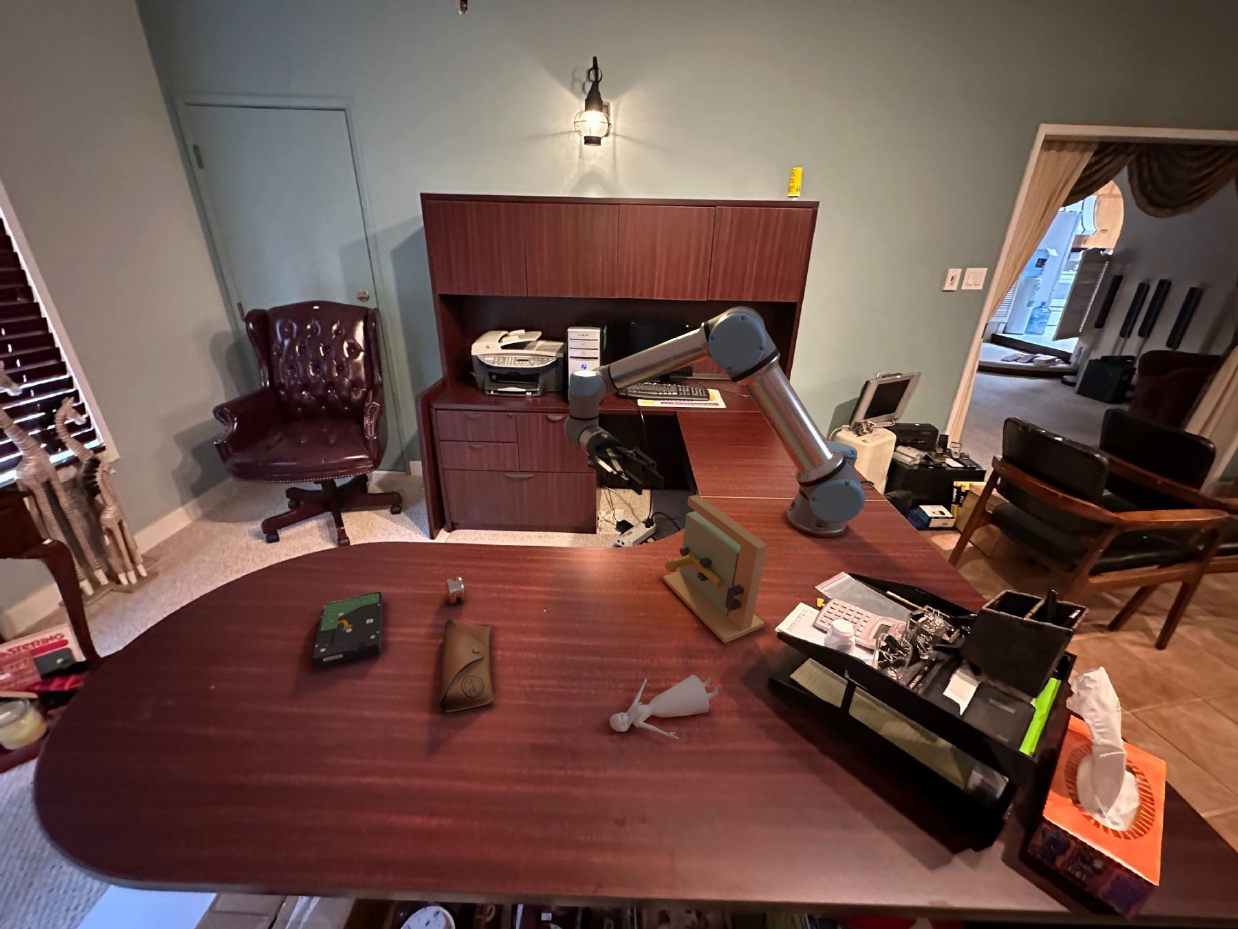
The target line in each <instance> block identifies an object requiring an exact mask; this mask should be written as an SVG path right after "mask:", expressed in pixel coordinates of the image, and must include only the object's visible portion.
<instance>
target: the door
mask: <svg viewBox="0 0 1238 929" xmlns="http://www.w3.org/2000/svg"><path fill="white" fill-rule="evenodd" d="M687 506H688V507H689V508H690V509H692V510H693V511H691V512H688V513H687V512H686V513H685V514H686V515H685V522H684V530H683V539H682V540H683V541H682V546H681V547H680V548H679V554H680V555H681V557H680V558H682V557H685V556H687V555H688V554H689V553H692V554H693V555H694V556H695V557H696V558H698V559H699V560H700V562H699V564H701V565H702V566H703V567H704V568H705V567H708V568H709V569H710V570H711V571H712V572H713V573H715V574H716V575H717V576H718V577H719V578H720V579H721V580H723V584H722V585H721V586H720V587H717V586H716V585H715V584H714V583H713V582H711V581H710V580H709V579H708V578H707V577H706V576H705V575H704V574H703V573H702V572H700V571H699V570H698V569H697V568H696V567H695V566H694V565H693V564H692V563H691V564H689V565H686V566H683V567H680V568H679V570H678V571H676V572H675V571H674V572H671V573H669V574H665V575H663V576H662V581H663V582H664V583H665V584H666V585H667V586H668V588H670V589H671V590H672V591H673V592H674V593H675V594H676V596H678V597H679V599H681V601H682V602H684V604H685V605H686V606H687V607H688V608H689V609H690V610H691V611H692V612H693V613H694V614H695V615H696V616H697V617H698V618H699V619H700V620H701V621H702V622H703V623H704V624H705V625H706V626H707V627H708V628H709V629H710V630H711V631H712V633H713V634H715V636H716V637H717V638H718V639H719V640H720V641H721V642H722V643H723V644H726V643H729V642H731V641H734V640H736V639H739V638H741V637H743V636H746V635H747V634H750V633H752V632H755V631H758V630H760V629H762V628H764V627H765V622H764V621H763V620H762V619H761V618H759V616H758V615H756V614H755V610H756V604H757V600H758V595H759V590H760V586H761V581H762V580H761V579H762V575H763V570H764V564H765V559H766V556H767V549H768V544H767V543H766V542H764V540H761V539H760V538H759V537H758V536H757V535H755V534H753V533H752V532H751V531H749V530H748V529H746V528H745V527H744V526H742V525H741V524H739V523H738V522H736V521H735V520H734V519H732V518H731V517H730V516H728V515H727V514H726V513H724V512H722V511H721V510H720V509H718V508H717V507H716V506H714V505H713V504H712V503H710V502H708V501H707V500H706V499H704V498H703V497H701V496H700V495H698V494H694V495H689V496H688V497H687Z"/></svg>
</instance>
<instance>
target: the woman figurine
mask: <svg viewBox="0 0 1238 929" xmlns="http://www.w3.org/2000/svg"><path fill="white" fill-rule="evenodd" d="M711 682H712V678H711V676H708V677H707V679H706V681H704V682H702V680H701V679H700V678H699V677H698V675H697V674H696V675H695V674H694V673H693V674H691V675H690V676H688V677H686V678H684V679H682V680H681V681H680V682H678V683H676V684H675V685H673V686H671V687H670V688H668V689H666V690H664V691H663V692H661V693H659V694H657V695H655V697H652V699H651V700H650V701H649V702H648V704H642V703H643V702H639V701H640V699H641V696H642V693H643V690H644V688H645V686H646V685H647V683H648V679H647V677H645V679H644V680H643V683H642V685H641V686H640V688H639V691H638V692H637V693H636V696H635V698H634V700H633V702H632V704H631V705H630V706H629V708H628V710H627V711H626V712H618V713H617V712H616V713H614V714H612V716H610V718H609V725H610V727H611V728H612V729H613V730H614V731H615V732H626V731H628V730H629V728H630V727H631V725H633V726H635V728H637V729H638V728H642V729H645V730H650V731H651V732H654V733H657V734H661V735H663V736H666V737H668V738H671V739H672V740H679V736H676V735H675V734H676V732H674V731H673V732H672V731H671V732H666V731H664V730H661V729H659V728H658V727H656V726H654V725H652V724H649V723H646V722H645V721H646V720H647V719H648V718H649V717H651V716H655V717H658V718H672V717H684V716H691V715H699V714H704V713H708V712H709V710H710V708H711V707H710V700H711V699H713V698H714V697H716V696H718V695H719V688H718V686H715V688H714V689H713V690H712V691H711V692H709V693H708V692H707V689H706V687H707V686H709V685H711Z"/></svg>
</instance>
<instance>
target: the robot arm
mask: <svg viewBox="0 0 1238 929" xmlns="http://www.w3.org/2000/svg"><path fill="white" fill-rule="evenodd" d="M780 356H781V353H780V351H779V350H778V347H777V346H776V344H775V343H774V341H773V339H772V338H771V336H770V335H769V333H768V331H767V330H766V324H765V321H764V319H763V317H762V316H761V314H759V312H758V311H756V310H755V309H753V308H751V307H748V306H736V307H732V308H730V309H727V310H726V311H724V312H723V313H721V314H719V315H717V316H715V317H714V318H711V319H709V320H706V321H704V322H702V323H701V325H700V327H699V328H698V329H695V330H692V331H689V332H688V333H687V332H686V333H685V334H683V335H680V336H677V337H675V338H672V339H670V340H667V341H665V342H662V343H660V344H657V345H655V346H652V347H650V348H647V349H644V350H641V351H639V352H636V353H634V354H632V355H628V356H627V357H624V358H622V359H621V358H620V359H619V360H617V361H614V362H612V363H609V364H607V365H601V366H597V367H596V368H594V369H592V370H577V371H573V372H572V373H570V375H569V382H568V410H569V412H568V416H567V418H566V419H565V421H564V423H563V427H562V430H563V433H564V435H565V437H566V438H567V439H568V441H569V442H570V443H571V444H573V445H574V446H576V448H578V449H579V450H580V451H582V452H583V453H584V454H585V455H587V468H589V469H593V470H594V471H595V472H597V473H598V474H599V475H600V476H601V477H602V478H603V479H605V480H606V481H607V482H608V483H614V482H615V481H616V485H617V486H622V485H624V487H628V488H629V489H630V490H632V491H633V492H634V493H635V494H636V495H638V496H643V488H644V482H643V481H641V480H640V479H639V478H637V477H636V476H635V475H634V474H632V473H631V472H630V471H629V470H624V469H623V468H629V469H632V470H633V471H635V472H637V473H639V474H642V475H643V476H644V477H643V478H644V479H645V480H646V481H647V482H648V483H650V484H652V486H653V487H655V488H656V489H657V490H659V491H660V492H661V491H664V489H665V477H663V476H662V475H661V474H660V473H659V471H657V462H656V461H655V460H653V459H652V458H651V457H649V456H648V455H646V453H644V452H642V451H641V448H640V447H636V446H635V447H634V448H633V449H632V450H628V448H626V447H623V446H622V444H621V443H620V441H619V439H618V438H616V437H615V436H613V435H612V434H610V433H609V432H608V431H607V430H605V429H604V428H602V427H601V426H599V418H600V417H599V416H600V402H601V401H602V400H604V399H605V398H606V397H607V396H609V395H612V394H614V393H615V394H616V393H617V392H620V391H622V390H624V389H627V388H630V387H633V386H635V385H636V386H637V385H638V384H641V383H644V382H646V381H649V380H652V379H654V378H657V377H660V376H664V375H666V374H668V373H673V372H674V371H677V370H680V369H682V368H685V367H688V366H690V365H694V364H696V363H700V362H702V361H705V360H708V359H711V360H713V361H714V362H715V364H716V365H717V366H718V367H720V368H721V369H722V370H724V371H725V373H726V374H727V375H728V377H729V379H730V380H731V382H732V383H733V384H736V385H740V386H743V387H744V389H745V390H746V392H747V393H748V395H749V397H750V398H751V399H752V402H753V403H754V405H755V406H756V408H757V409H758V411H759V412H760V414H761V415H762V418H764V420H765V421H766V423H767V424H768V426H769V427H770V429H771V430H772V432H773V434H774V435H775V437H776V439H777V440H778V441H779V443H780V444H781V446H782V448H783V449H784V451H785V452H786V454H787V455H788V457H789V459H790V460H791V462H792V463H793V465H794V466H795V468H796V471H795V475H794V478H795V479H796V482H797V483H798V484H799V488H798V492H797V494H796V495H795V497H794V498H793V500H792V501H791V503H790V505H789V506H788V508H787V510H786V514H785V519H786V521H787V523H788V524H789V525H790V526H791V527H792V528H794V529H795V530H797V531H798V532H801V533H803V534H806V535H809V536H814V537H818V538H835V537H836V538H837V537H839V536H842V535H843V534H844V533H845V532H846V528H847V524H848V522H849V521H850V520H853V519H854V518H856V517H857V516H859V514H860V513H861V512H862V511H863V509H864V507H865V504H866V491H865V488H864V487H863V485H862V484H871V485H872V486H875V483H874V481H872V480H860V478H859V476H858V473H857V471H856V469H855V468H856V467H855V466H856V463H857V460H858V450H857V448H855V447H853V445H852V446H851V445H849V444H846V443H842V442H838V441H832V440H826V439H825V437H824V436H823V433H822V432H821V430H820V429H819V427H818V425H817V424H816V422H815V421H814V419H813V418H812V416H811V414H810V413H809V411H808V409H807V408H806V406H805V405H804V404H803V402H802V400H801V398H800V397H799V395H798V393H797V392H796V391H795V389H794V388H793V385H792V384H791V382H790V381H789V379H788V378H787V376H786V375H785V373H784V372H783V370H782V367H781V366H780V365H779V359H780ZM622 467H623V468H622ZM867 482H868V483H867Z"/></svg>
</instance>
